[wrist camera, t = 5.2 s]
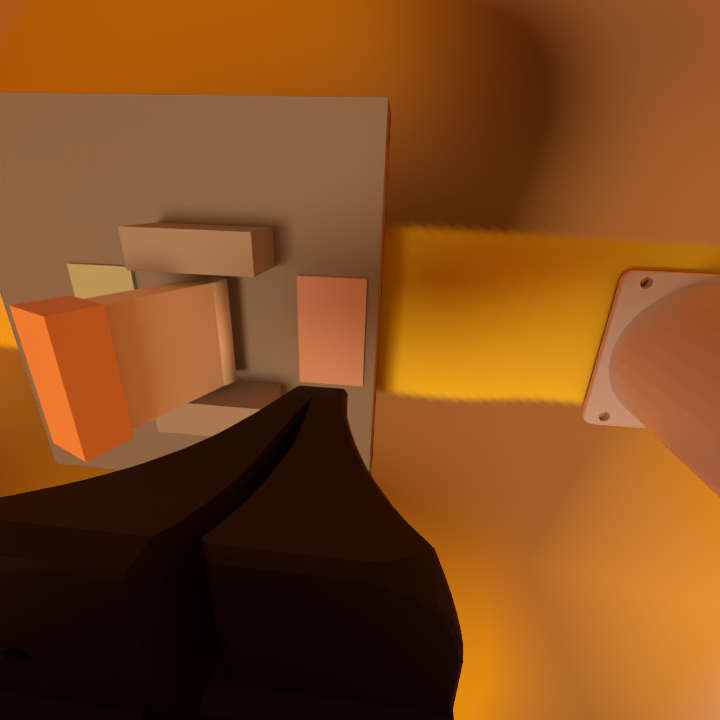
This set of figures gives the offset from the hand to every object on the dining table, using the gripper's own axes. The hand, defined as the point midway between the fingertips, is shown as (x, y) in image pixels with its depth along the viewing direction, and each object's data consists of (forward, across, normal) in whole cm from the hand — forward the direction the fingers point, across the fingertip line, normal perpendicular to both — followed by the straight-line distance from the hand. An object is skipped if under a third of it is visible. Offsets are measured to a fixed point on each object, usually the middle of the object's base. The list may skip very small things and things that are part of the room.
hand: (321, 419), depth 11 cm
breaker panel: (+10, +8, 0) cm, 13 cm away
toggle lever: (+6, +6, 0) cm, 9 cm away
